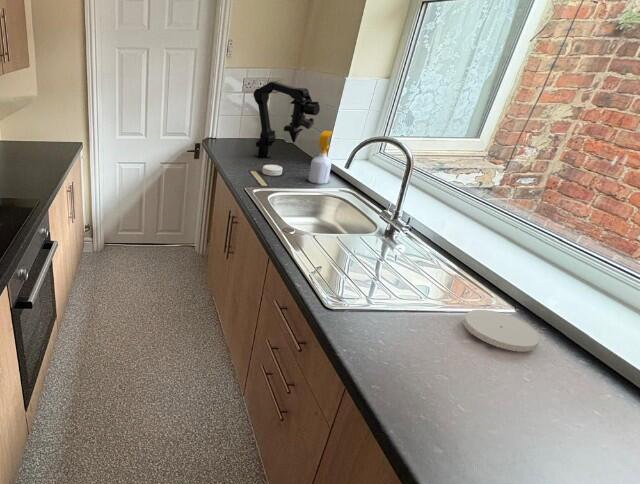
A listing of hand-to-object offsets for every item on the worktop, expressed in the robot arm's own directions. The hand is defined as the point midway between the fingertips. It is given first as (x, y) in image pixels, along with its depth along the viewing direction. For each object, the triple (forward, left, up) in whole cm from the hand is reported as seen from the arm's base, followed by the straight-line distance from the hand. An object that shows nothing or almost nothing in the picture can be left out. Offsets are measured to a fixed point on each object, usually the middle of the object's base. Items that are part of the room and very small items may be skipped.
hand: (293, 142), depth 231 cm
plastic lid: (+150, -17, -12) cm, 151 cm away
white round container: (+17, -18, -12) cm, 28 cm away
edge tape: (+24, -28, -12) cm, 39 cm away
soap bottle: (+33, -1, -12) cm, 35 cm away
